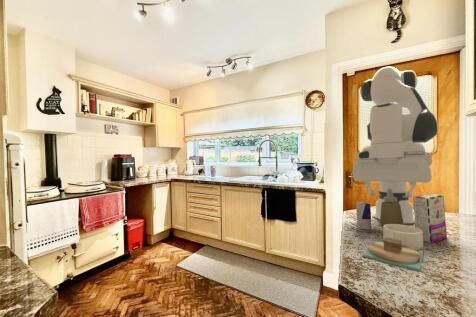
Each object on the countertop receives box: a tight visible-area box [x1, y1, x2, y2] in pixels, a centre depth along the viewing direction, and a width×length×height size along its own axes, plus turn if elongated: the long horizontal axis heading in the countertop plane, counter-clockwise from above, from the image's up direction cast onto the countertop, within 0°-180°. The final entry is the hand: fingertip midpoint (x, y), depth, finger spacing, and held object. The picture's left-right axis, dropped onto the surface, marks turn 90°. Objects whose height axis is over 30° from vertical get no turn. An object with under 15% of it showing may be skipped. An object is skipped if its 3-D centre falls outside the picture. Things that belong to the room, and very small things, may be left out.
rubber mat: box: [362, 241, 424, 272], centre depth 65 cm, size 14×14×1 cm
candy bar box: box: [412, 193, 448, 244], centre depth 77 cm, size 11×5×16 cm, turn 114°
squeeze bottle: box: [379, 189, 405, 229], centre depth 86 cm, size 8×8×18 cm
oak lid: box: [368, 237, 420, 263], centre depth 65 cm, size 13×13×4 cm
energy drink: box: [355, 201, 373, 233], centre depth 89 cm, size 5×5×12 cm
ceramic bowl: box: [382, 224, 425, 251], centre depth 73 cm, size 11×11×6 cm
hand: (389, 195), depth 66 cm, fingers open, 8 cm apart
